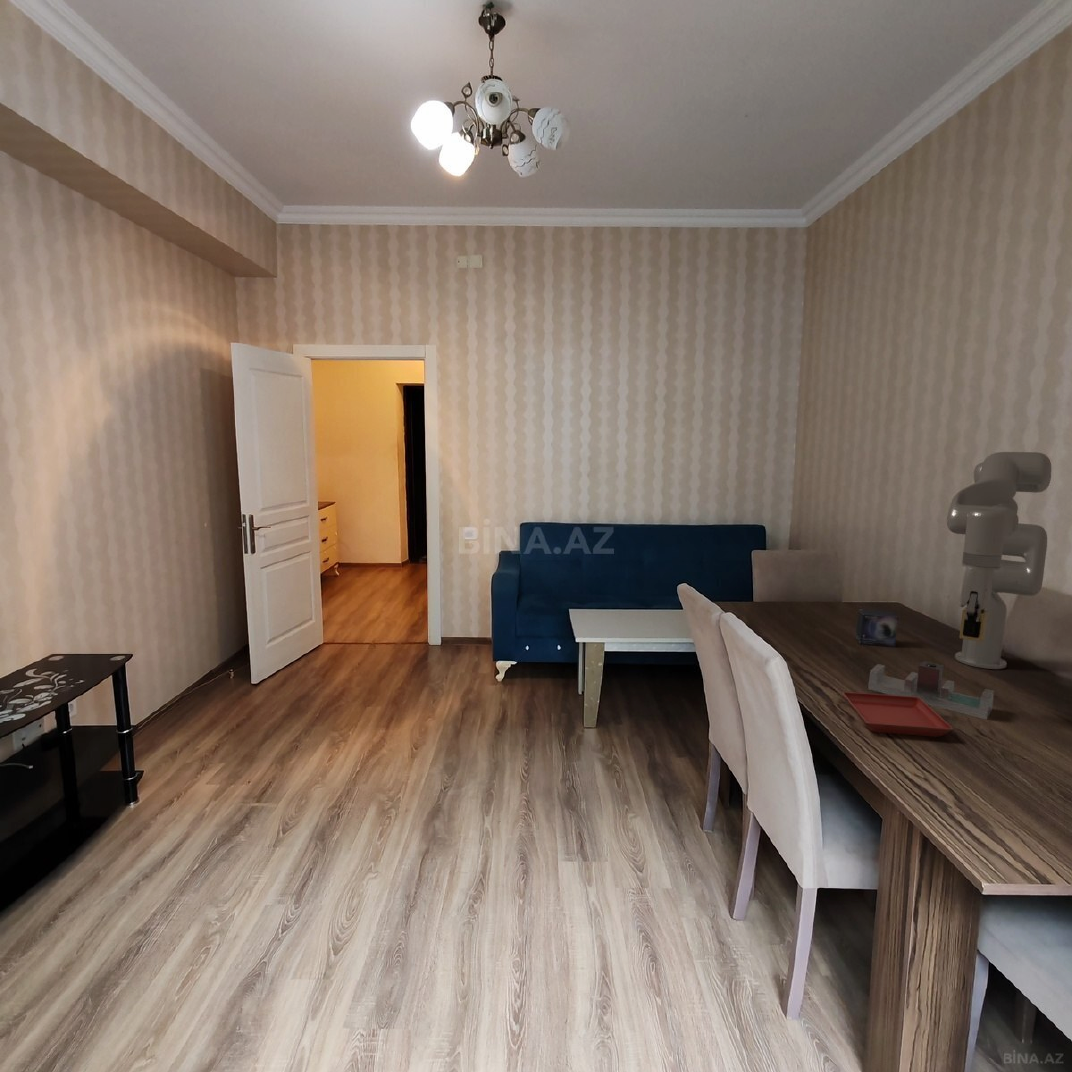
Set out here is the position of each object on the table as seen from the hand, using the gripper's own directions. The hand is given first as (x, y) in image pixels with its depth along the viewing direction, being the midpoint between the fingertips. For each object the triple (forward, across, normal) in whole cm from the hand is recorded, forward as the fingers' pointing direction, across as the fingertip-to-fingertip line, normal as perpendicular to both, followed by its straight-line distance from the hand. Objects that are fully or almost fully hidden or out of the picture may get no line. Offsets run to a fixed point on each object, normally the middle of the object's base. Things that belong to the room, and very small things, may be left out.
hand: (972, 633), depth 150 cm
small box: (+20, -39, -31) cm, 53 cm away
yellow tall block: (+1, 0, 0) cm, 1 cm away
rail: (+19, 0, -8) cm, 21 cm away
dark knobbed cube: (+17, 0, -8) cm, 19 cm away
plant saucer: (+20, +20, -11) cm, 30 cm away
